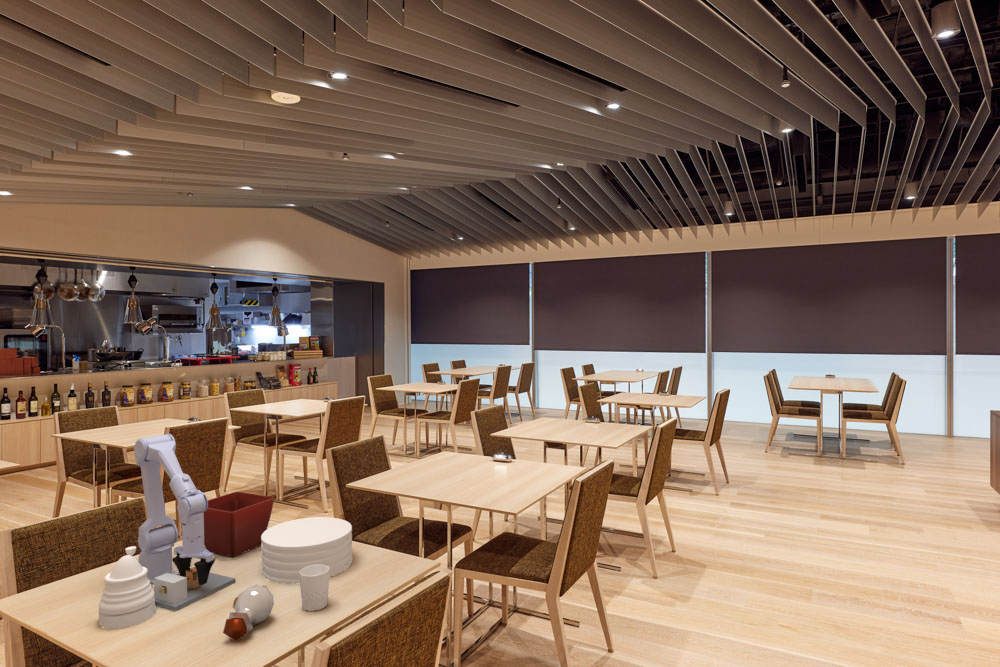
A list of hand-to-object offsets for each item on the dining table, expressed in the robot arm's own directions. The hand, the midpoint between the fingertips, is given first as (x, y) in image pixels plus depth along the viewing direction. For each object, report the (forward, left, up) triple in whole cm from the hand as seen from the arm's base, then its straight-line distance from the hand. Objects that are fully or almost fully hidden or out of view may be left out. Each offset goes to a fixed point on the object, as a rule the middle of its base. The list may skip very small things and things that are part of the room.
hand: (194, 581), depth 176 cm
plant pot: (-17, +30, -3) cm, 34 cm away
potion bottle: (+32, -8, -3) cm, 33 cm away
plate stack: (+17, +28, -3) cm, 33 cm away
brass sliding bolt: (0, -4, -1) cm, 5 cm away
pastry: (+21, +2, -3) cm, 22 cm away
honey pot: (-3, -18, -3) cm, 19 cm away
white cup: (+39, +8, -3) cm, 40 cm away
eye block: (0, 0, -3) cm, 3 cm away
